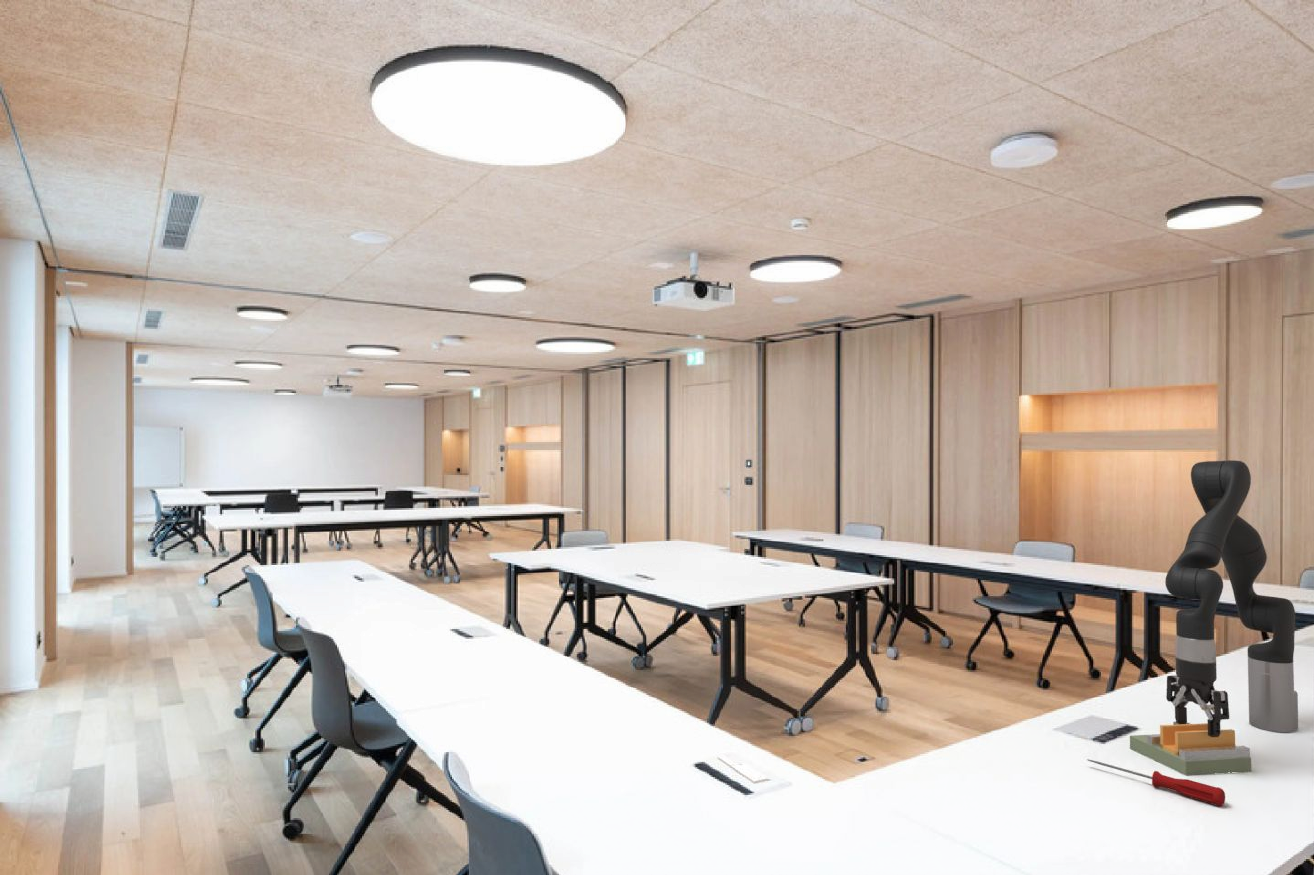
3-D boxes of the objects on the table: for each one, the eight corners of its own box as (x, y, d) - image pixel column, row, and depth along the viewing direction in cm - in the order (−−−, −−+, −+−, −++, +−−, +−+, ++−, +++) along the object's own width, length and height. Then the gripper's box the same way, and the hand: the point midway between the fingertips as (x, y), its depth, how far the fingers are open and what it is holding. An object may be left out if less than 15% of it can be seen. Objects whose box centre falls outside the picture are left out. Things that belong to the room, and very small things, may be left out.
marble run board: (1190, 745, 183) (1189, 719, 183) (1251, 771, 167) (1250, 744, 167) (1129, 748, 181) (1129, 722, 181) (1186, 775, 165) (1185, 747, 165)
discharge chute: (1216, 745, 175) (1215, 723, 175) (1235, 753, 170) (1234, 730, 170) (1160, 747, 173) (1160, 725, 173) (1178, 755, 168) (1177, 732, 168)
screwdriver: (1090, 765, 170) (1090, 749, 170) (1226, 804, 151) (1226, 786, 151) (1084, 769, 168) (1083, 753, 168) (1221, 809, 149) (1220, 791, 149)
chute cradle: (1208, 740, 178) (1208, 731, 178) (1249, 757, 167) (1249, 748, 167) (1147, 743, 175) (1146, 734, 176) (1184, 761, 165) (1184, 751, 165)
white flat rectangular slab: (736, 756, 175) (736, 752, 175) (773, 781, 161) (774, 776, 161) (717, 760, 173) (717, 755, 173) (753, 785, 159) (753, 780, 159)
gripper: (1238, 664, 166) (1240, 740, 165) (1184, 649, 180) (1185, 718, 179) (1207, 665, 165) (1209, 742, 164) (1155, 650, 179) (1157, 720, 178)
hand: (1197, 729), depth 172 cm, fingers open, 8 cm apart
